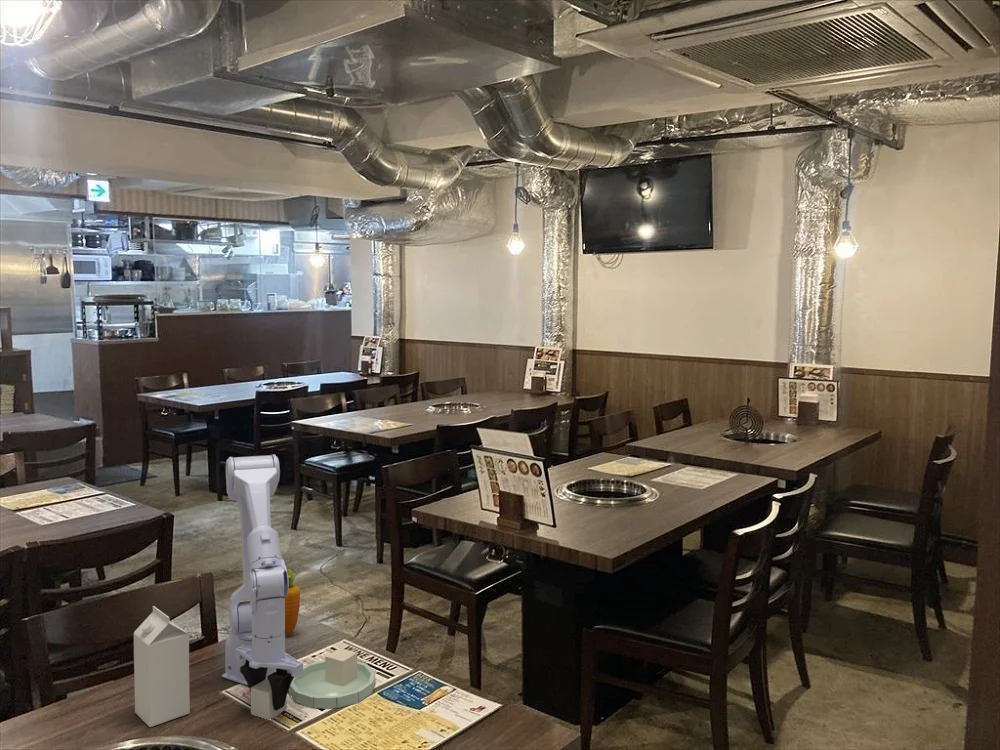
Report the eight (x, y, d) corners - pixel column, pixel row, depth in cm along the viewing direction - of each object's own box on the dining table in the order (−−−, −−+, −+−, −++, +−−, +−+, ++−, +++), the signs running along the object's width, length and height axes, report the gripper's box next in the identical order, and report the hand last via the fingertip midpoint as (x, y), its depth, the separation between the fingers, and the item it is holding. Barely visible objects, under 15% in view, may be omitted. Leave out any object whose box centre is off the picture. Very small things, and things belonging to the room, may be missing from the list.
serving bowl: (272, 694, 149) (272, 684, 149) (327, 662, 163) (327, 652, 163) (338, 716, 142) (338, 705, 142) (390, 680, 156) (390, 670, 156)
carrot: (294, 641, 173) (294, 575, 172) (273, 639, 174) (273, 573, 173) (304, 632, 178) (304, 567, 177) (284, 630, 179) (284, 566, 178)
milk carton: (174, 699, 147) (172, 601, 145) (190, 714, 142) (188, 612, 140) (134, 713, 142) (132, 611, 140) (149, 728, 137) (147, 622, 135)
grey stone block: (250, 714, 142) (250, 687, 142) (268, 703, 146) (268, 677, 146) (269, 720, 140) (269, 693, 140) (286, 709, 144) (286, 683, 144)
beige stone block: (325, 680, 154) (325, 656, 154) (339, 671, 158) (339, 648, 157) (342, 686, 152) (343, 661, 152) (357, 677, 156) (357, 652, 155)
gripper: (222, 631, 142) (223, 703, 143) (283, 649, 135) (283, 724, 136) (251, 618, 148) (251, 687, 149) (311, 634, 141) (310, 707, 142)
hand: (268, 704), depth 143 cm, fingers closed on grey stone block, 4 cm apart
